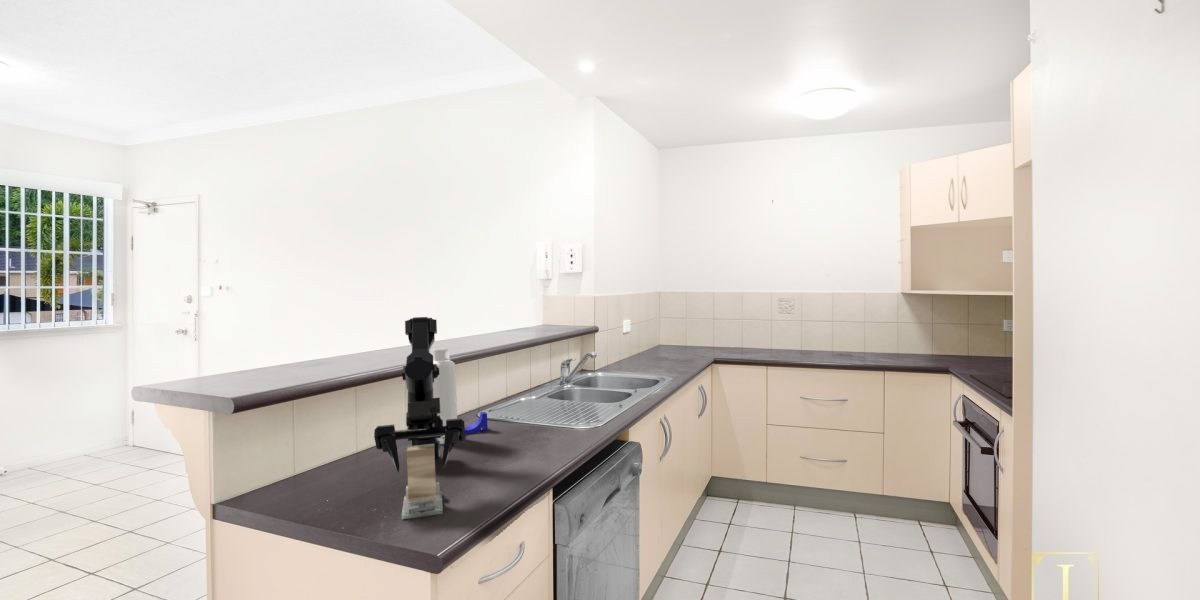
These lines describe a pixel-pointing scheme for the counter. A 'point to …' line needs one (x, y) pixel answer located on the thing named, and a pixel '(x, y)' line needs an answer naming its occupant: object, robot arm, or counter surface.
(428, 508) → the frosted green stand
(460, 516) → the counter surface
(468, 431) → the blue curved bracket
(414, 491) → the beech block
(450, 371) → the bottle
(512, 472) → the counter surface
